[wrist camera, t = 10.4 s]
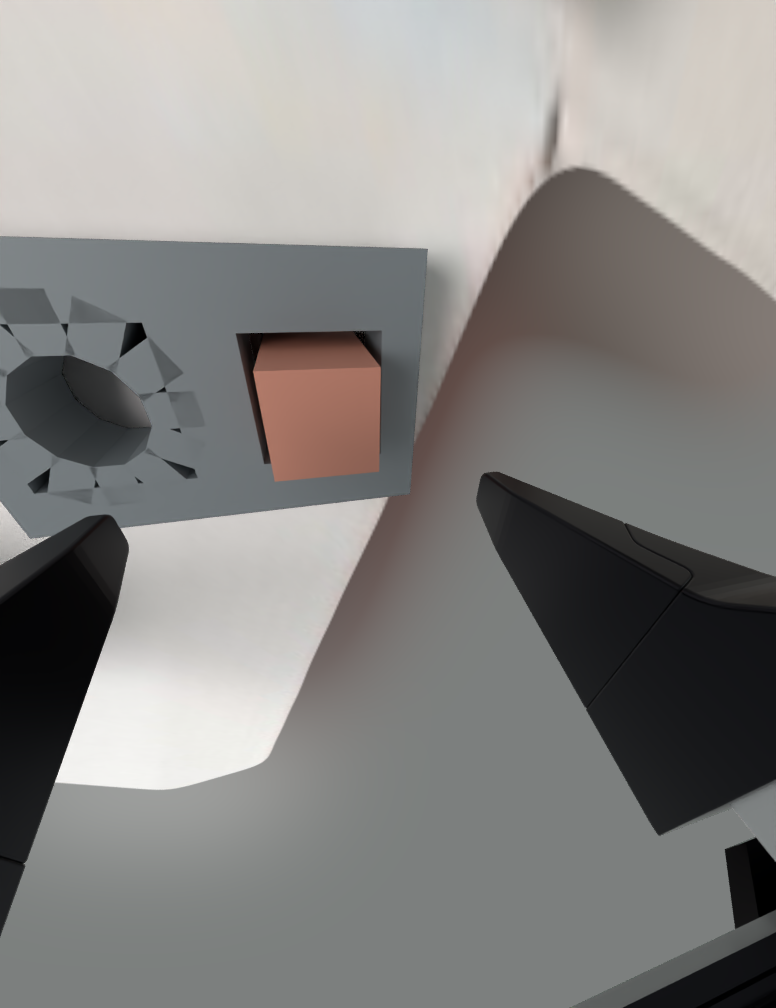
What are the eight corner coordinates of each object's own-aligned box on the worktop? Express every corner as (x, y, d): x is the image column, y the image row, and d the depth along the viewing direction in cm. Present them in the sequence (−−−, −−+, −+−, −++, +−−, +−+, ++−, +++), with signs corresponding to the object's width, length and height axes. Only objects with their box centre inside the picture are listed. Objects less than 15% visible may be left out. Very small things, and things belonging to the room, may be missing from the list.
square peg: (353, 410, 20) (379, 471, 14) (278, 414, 19) (274, 481, 14) (351, 330, 17) (380, 367, 12) (264, 330, 17) (253, 371, 11)
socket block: (392, 459, 22) (409, 494, 19) (73, 490, 19) (30, 538, 16) (399, 248, 16) (427, 248, 13) (-88, 234, 12) (-215, 230, 9)
